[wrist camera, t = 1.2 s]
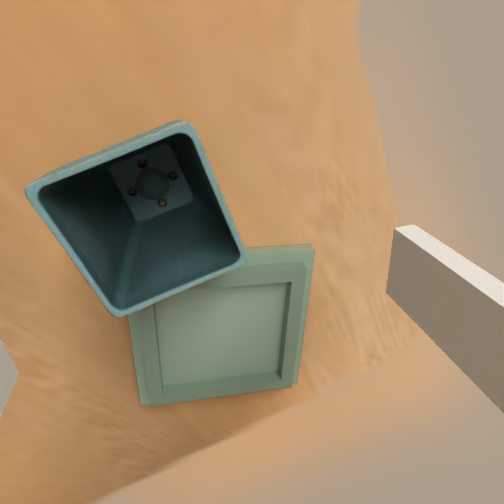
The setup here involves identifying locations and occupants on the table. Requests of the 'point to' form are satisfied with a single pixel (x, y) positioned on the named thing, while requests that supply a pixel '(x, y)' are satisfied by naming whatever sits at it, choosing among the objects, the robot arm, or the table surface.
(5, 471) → the table surface
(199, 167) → the flower pot
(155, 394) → the baseplate
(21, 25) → the table surface
